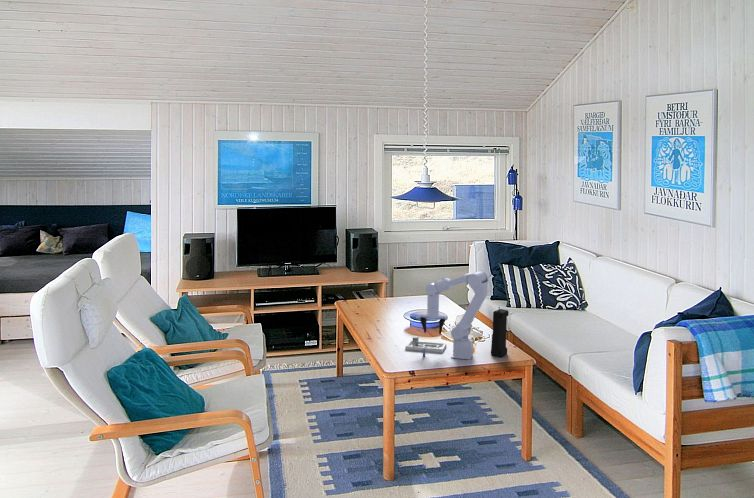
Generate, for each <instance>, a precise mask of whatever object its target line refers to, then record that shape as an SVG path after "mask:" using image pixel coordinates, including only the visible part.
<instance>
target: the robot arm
mask: <svg viewBox="0 0 754 498" xmlns="http://www.w3.org/2000/svg"><path fill="white" fill-rule="evenodd" d="M463 283H465V284H466V285H468V286H469V287H470V288H471V290H472V291H473V292H474V295H473V297H472V299H471V301H470V303H469V305H468V306H467V308H466V310H465V312H464V314H463V316H462V318H461V320H459V322H458V323H457V324H456V325H455V327H453V328H452V329H451V330H450V335H451V337H452V341H453V345H452V346H453V347H452V348H453V350H452V352H453V353H452V355H451V356H450V357H451V358H452V359H458V360H459V359H460V360H471V359H472V357H473V355H474V351H473V350H474V349H473V345H474V341H473V339H470V338H469V335H470V334H471V331H472V327H473V324H472V323H473V322H474V320H475V318H476V316H477V314H478V312H479V310H480V309H481V308H482V305H483V303H484V301H485V300H486V298H487V296H488V284H489V277H488V275H487V273H486V272H485V271H483V270H479V271H477V272H476V271H475V272H474V271H473V272H469V273H468V272H467V273H465V274H462V275H460V276H456V277H455V278H454V277H453V278H449V277H442V278H441V279H439V280H434V281H433V282H432V283H428V284H426V286H425V293H426V294H427V297H426V298H427V299H426V301H427V302H426V304H427V305H426V308H427V309H426V311H427V312H426V313H419V314H417V315H418V317H417V318H418V319H419V321H420V323H421V326H422V328H423V333H424V334H425V333H427V321H428V319H431V320H439V322H438V323H439V324H438V325H439V329H438V334H439V335H441V334H442V332H443V327H444V324H445V322H446V321H447V320H448V316H449V315H444V314H440V313H439V312H440V311H439V308H440V293H443V292H446V291H449V290H451V289H452V288H453V286H455V285H458V284H463Z"/></svg>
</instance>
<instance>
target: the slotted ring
mask: <svg viewBox="0 0 754 498" xmlns="http://www.w3.org/2000/svg"><path fill="white" fill-rule="evenodd" d="M419 338H420V337H419V336H417V335H413V337H412V340H413V346H417V347H429V348H439V345H431V344H424V345H421V344H418V341H419Z"/></svg>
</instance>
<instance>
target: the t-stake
mask: <svg viewBox="0 0 754 498" xmlns="http://www.w3.org/2000/svg"><path fill="white" fill-rule="evenodd" d="M425 350H426V347H424V348H423V351H422V358H423V357H425V358H426V352H425Z"/></svg>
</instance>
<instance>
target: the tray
mask: <svg viewBox="0 0 754 498" xmlns="http://www.w3.org/2000/svg"><path fill="white" fill-rule="evenodd" d="M418 344H421V345H424V344H431V345H439V348H429V347H426V350H425V353H426V352H427V353H436V354H437V353H438V354H443V353H444V352H445V350H446V348H447V343H446V342H435V341H434V342H433V341H422V340H418ZM423 348H424V347H417V346H413V339H412V340H411V339H410V340H409V341H408V342H407V343H406V344H405V349H404V350H405V351H413V352H414V351H415V352H423Z"/></svg>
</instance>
